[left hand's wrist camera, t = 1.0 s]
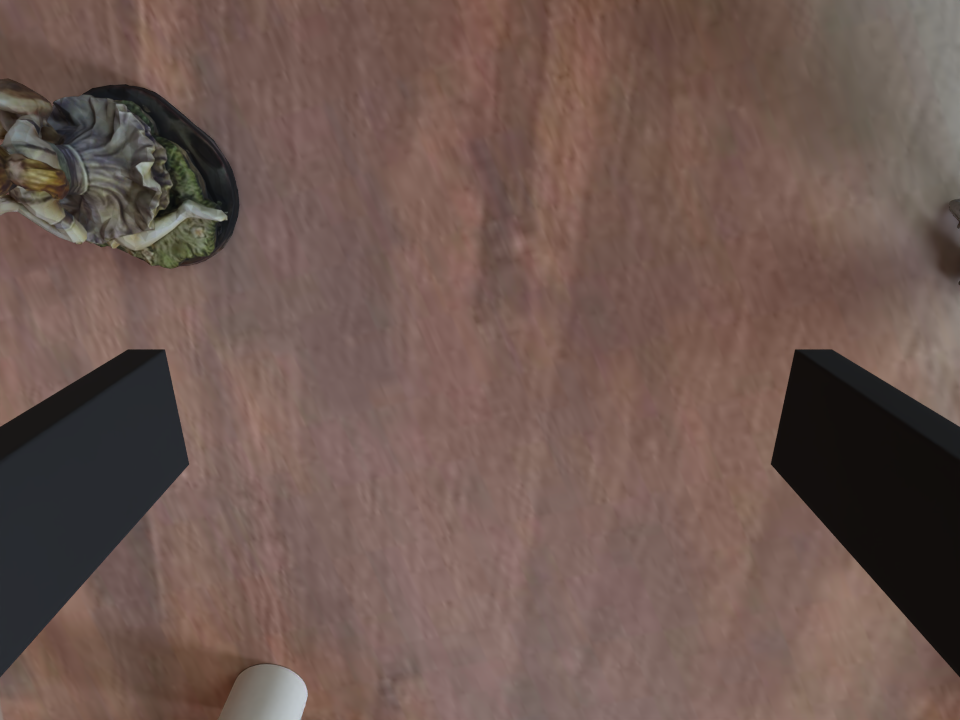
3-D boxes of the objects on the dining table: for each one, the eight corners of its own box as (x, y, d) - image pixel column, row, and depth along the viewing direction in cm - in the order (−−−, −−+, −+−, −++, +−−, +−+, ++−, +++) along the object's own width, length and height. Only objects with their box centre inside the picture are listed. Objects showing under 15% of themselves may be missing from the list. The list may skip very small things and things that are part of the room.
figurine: (23, 126, 37) (-260, 111, 23) (168, 51, 35) (-37, -13, 21) (131, 293, 40) (-53, 370, 26) (266, 232, 39) (148, 279, 25)
